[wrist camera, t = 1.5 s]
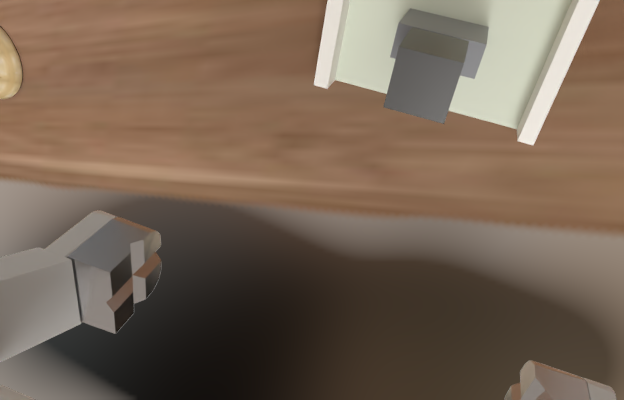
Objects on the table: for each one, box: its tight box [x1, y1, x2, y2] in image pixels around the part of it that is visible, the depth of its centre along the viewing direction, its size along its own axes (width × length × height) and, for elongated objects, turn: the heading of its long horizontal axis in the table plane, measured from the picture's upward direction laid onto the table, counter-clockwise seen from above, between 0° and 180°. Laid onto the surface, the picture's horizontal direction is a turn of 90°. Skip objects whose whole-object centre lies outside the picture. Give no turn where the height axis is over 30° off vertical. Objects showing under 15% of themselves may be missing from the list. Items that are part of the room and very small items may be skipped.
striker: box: [384, 8, 489, 124], centre depth 28 cm, size 5×3×11 cm, turn 81°
